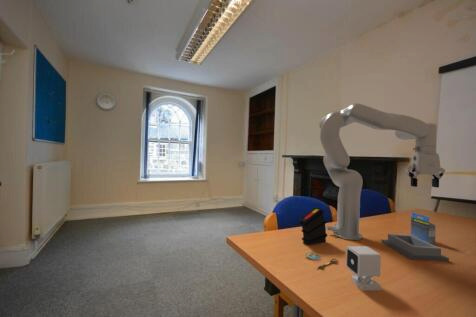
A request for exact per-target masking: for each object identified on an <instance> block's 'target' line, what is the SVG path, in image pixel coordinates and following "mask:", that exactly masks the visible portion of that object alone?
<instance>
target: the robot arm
mask: <svg viewBox="0 0 476 317" xmlns="http://www.w3.org/2000/svg"><path fill="white" fill-rule="evenodd" d="M352 123H356V124H360V125H363V126H366V127H368V128H371V129H373V130H378V131H379V130H381V131H394V135H395V136H396V138H398V139H399V140H402V141H403V140H414V141H415V146H414V147H413V151H414V153H413V156H412V159H411V160H412V161H411V165H410V166H408V167H405V168H404V169H405V171H406V174H407V175H408V176H409V178H410V187H413V188H414V187H415V188H417V187H418V178H417V177H419V175H428V176H429V175H431V177H432V178H431V187H432V188H440V180H441V179H442V177H443V176H444V173H445V172H446V168H443V167H441V161H440V159H441V158H440V156H439V153H437V140H438V138H437V134H438V133H437V132H438V131H437V130H438V127H437V124H435V123H430V122H429V123H426V122H425V121H423V120H421V119H419V118H415V117H413V116H410V115H405V114H400V113H393V112H386V111H382V110H379V109H376V108H373V107H371V106H367V105H365V104H362V103H359V102H357V103H356V102H355V103H352V104H350V105H348V106H347V107H345V108H343V109H340V110H338V111H337V110H336V111H332V112H330V113H327V115H325V116H323V117H322V118H321V119H320V121H319V124H318V127H319V128H320V133H319V137H320V139H319V140H320V143H321V145H322V148H323V150H324V154H323V158H322V161H323V165H324V167H325V169H326V171H327V173H328V175H329V177H330V179H331V181H332V183H333V185H335V186H336V187H339V190H338V194H337V210H336V211H337V213H336V214H337V215H336V217H337V218H336V223H335V224H334V225H333V226H331V225H326V226H325V227H326V231H331V232H332V233H333V236H335V237H338V238H340V239H342V240H343V239H344V240H348V241H360V240H363V235H362V234H361V233H360V214H361V213H360V212H361V211H360V210H361V209H360V208H361V194H362V188H363V176H362V175H361V174H360V173H359V172H358V171H356V170H354V169H349V168H347V167H348V166H349V165H350V162H351V158H350V155H349V154H348V152H347V150H346V148H345V146H344V144H343V142H342V139H341V136H340V130H341V128H344V127H346V126H348V125H350V124H352Z"/></svg>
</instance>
